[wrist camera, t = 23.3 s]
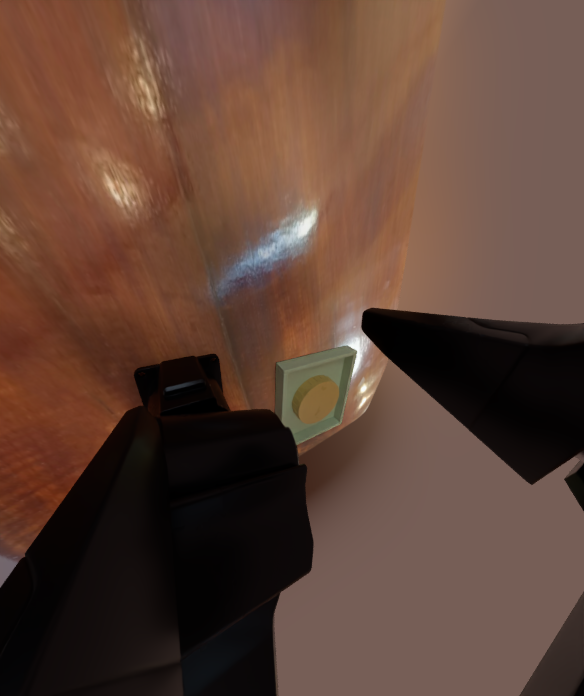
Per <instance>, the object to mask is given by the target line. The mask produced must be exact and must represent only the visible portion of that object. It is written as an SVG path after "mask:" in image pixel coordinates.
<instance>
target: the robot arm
mask: <svg viewBox="0 0 584 696" xmlns="http://www.w3.org/2000/svg"><path fill="white" fill-rule="evenodd" d="M361 327H362V330H363V332H364V333H365V334H366V335H367V336H368V337H369V339H370V340H371V341H372V342H373V343H374V344H375V345H376V346H377V347H378V348H379V349H380V350H381V352H382V353H383V354H384V355H385V356H387V357H388V358H389V359H390V360H391V361H392V362H393V363H394V364H396V365H397V366H398V367H399V368H400V369H401V370H402V371H404V372H405V373H406V374H407V375H408V376H409V377H410V378H411V379H412V380H413V381H415V382H416V383H417V384H418V385H419V386H420V387H421V388H422V389H424V390H425V391H426V392H427V393H428V394H429V395H430V396H431V397H433V398H434V399H435V400H436V401H437V402H438V403H439V404H441V405H442V406H443V407H444V408H445V409H446V410H447V411H448V412H450V414H452V415H453V416H454V417H455V418H456V419H457V420H458V421H459V422H461V423H462V424H463V425H464V426H465V427H466V428H467V429H469V431H470V432H472V433H473V434H474V435H475V436H476V437H477V438H478V439H479V440H480V441H482V442H483V443H484V444H485V445H486V446H487V447H489V448H490V449H491V450H492V451H493V452H494V453H495V454H496V455H497V456H498V457H500V458H501V459H502V460H503V461H504V462H505V463H506V464H508V465H509V466H510V467H511V468H512V469H513V470H514V471H515V472H517V473H518V474H519V475H520V476H521V477H522V478H523V479H525V480H526V481H527V482H528V483H530V484H531V485H533V484H534V483H536V482H537V481H539V480H540V479H542V478H543V477H544V476H546V475H547V474H549V473H550V472H552V471H553V470H555V469H556V468H558V467H559V466H561V465H562V464H564V463H565V462H567V461H568V460H570V459H571V458H573V457H576V458H578V459H579V460H580V461H579V462H578V463H577V465H576V466H575V467H574V468H573V469H572V470H571V472H570V473H569V474H568V475H567V476H566V478H565V479H564V480H565V481H566V483H567V485H568V486H569V488H570V490H571V491H572V493H573V495H574V496H575V498H576V500H577V501H578V503H579V504H580V506H581V507H582V509H583V511H584V323H581V324H546V323H529V322H514V321H500V320H489V319H478V318H466V317H458V316H448V315H439V314H438V315H437V314H429V313H419V312H409V311H399V310H390V309H380V308H370V309H367V310H365V311H364V312H363V315H362V326H361ZM212 358H215V360H214V361H211V359H212ZM139 373H145V375H143V376H140V375H139ZM134 378H135V381H136V384H137V387H138V390H139V393H140V396H141V399H142V402H143V405H144V406H138V407H135V408H133V409H131V410H128V411H127V412H126V413H125V414H124V416H123V417H122V418H121V420H120V421H119V423H118V424H117V425H116V427H115V428H114V430H113V431H112V432H111V434H110V435H109V437H108V438H107V439H106V441H105V442H104V444H103V445H102V446H101V448H100V449H99V451H98V452H97V453H96V455H95V456H94V458H93V459H92V460H91V462H90V463H89V465H88V466H87V467H86V469H85V470H84V472H83V473H82V474H81V476H80V477H79V479H78V480H77V481H76V483H75V484H74V486H73V487H72V488H71V490H70V491H69V493H68V494H67V495H66V497H65V498H64V500H63V501H62V502H61V504H60V505H59V507H58V508H57V509H56V511H55V512H54V514H53V515H52V516H51V518H50V519H49V521H48V522H47V523H46V525H45V526H44V528H43V529H42V530H41V532H40V533H39V535H38V536H37V537H36V539H35V540H34V542H33V543H32V544H31V546H30V547H29V549H28V550H27V551H26V553H25V557H23V558H22V559H21V560H20V561H19V562H18V564H17V565H16V567H15V568H14V569H13V571H12V572H11V574H10V575H9V576H8V578H7V579H6V581H5V582H4V583H3V585H2V586H1V587H0V696H278V683H277V666H276V665H277V664H276V648H275V632H274V613H275V609H276V605H277V602H278V599H279V595H280V593H281V591H283V590H285V589H286V588H288V587H289V586H290V585H292V584H293V583H295V582H296V581H298V580H299V579H301V578H302V577H303V576H305V575H306V574H308V573H309V572H310V571H311V568H312V557H313V537H312V533H311V527H310V522H309V518H308V512H307V506H306V492H305V483H306V474H307V467H306V465H305V464H301V465H299V459H298V458H299V457H298V450H297V446H296V442H295V439H294V436H293V433H292V431H291V429H290V428H289V427H285V426H284V425H283V423H282V422H281V420H280V419H279V417H278V416H277V415H276V414H275V413H274V412H272V411H271V410H268V409H252V410H239V411H231V410H230V408H229V406H228V404H227V402H226V400H225V397H224V395H223V389H222V381H221V372H220V363H219V358H218V356H217V355H216V354H208V355H203V356H198V357H195V356H189V357H184V358H179V359H173V360H168V361H163V362H161V363H160V364H156V365H151V366H146V367H141V368H138V369H136V370H135V372H134ZM520 696H584V592H583V594H582V595H581V597H580V599H579V600H578V602H577V604H576V605H575V607H574V608H573V610H572V611H571V613H570V615H569V616H568V618H567V620H566V621H565V623H564V624H563V626H562V628H561V629H560V631H559V633H558V634H557V636H556V637H555V639H554V641H553V642H552V644H551V646H550V647H549V649H548V650H547V652H546V654H545V655H544V657H543V658H542V660H541V662H540V663H539V665H538V666H537V668H536V670H535V671H534V673H533V675H532V676H531V678H530V679H529V681H528V683H527V684H526V686H525V688H524V689H523V691H522V692H521V694H520Z"/></svg>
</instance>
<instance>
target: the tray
mask: <svg viewBox="0 0 584 696" xmlns="http://www.w3.org/2000/svg"><path fill="white" fill-rule="evenodd" d="M356 354H357V351H356V350H354V349H352V348H351V347H349V346H343V347H339V348H334V349H330V350H326V351H322V352H318V353H314V354H310V355H306V356H302V357H298V358H294V359H289V360H285V361H281V362H277V363H276V388H275V414H276V415H277V416H278V417H279V419H280V420H281V422H282V423H283V425H284V426H285V427H289V428H290V429H291V431H292V433H293V436H294V439H295V442H296V445H298V444H300V443H302V442H304V441H306V440H308V439H310V438H312V437H314V436H317V435H319V434H321V433H323V432H325V431H327V430H329V429H331V428H333V427H336V426H338V425H340V424H342V419H343V414H344V410H345V405H346V400H347V396H348V391H349V386H350V382H351V377H352V372H353V368H354V363H355V358H356ZM317 375H324V376H328V377H329V378H330V379H331V380H333V381H334V382H335V383H336V384H337V386H338V388H339V398H338V401H337V403H336V405H335V407H334V408H333V409H332V411H331V412H330V413H329V414H328V415H327V416H326V417H325V418H323V419H322V420H320V421H318V422H316V423H313V424H306V423H303V422H302V421H301V420H299V418H298V417H297V416H296V415H295V413H294V412H293V409H292V400H293V397H294V395H295V393H296V391H297V389H298V388H299V387H300V386H301V385H302V384H303V383H304V382H305V381H306V380H308V379H309V378H311V377H314V376H317Z"/></svg>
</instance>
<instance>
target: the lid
mask: <svg viewBox="0 0 584 696" xmlns="http://www.w3.org/2000/svg"><path fill="white" fill-rule="evenodd" d="M338 398H339V388H338V386H337V384H336V383H335V382H334V381H333V380H331V379H330V378H329V377H328V376H324V375H317V376H314V377H311V378H309V379H308V380H306V381H305V382H304V383H303V384H302V385H301V386H300V387H299V388H298V389H297V391H296V393H295V395H294V397H293V400H292V409H293V412H294V413H295V415H296V416H297V417H298V418H299V420H301V421H302V422H303V423H306V424H313V423H316V422H318V421H320V420H322V419H323V418H325V417H326V416H327V415H328V414H329V413H330V412H331V411H332V409H333V408H334V407H335V405H336V403H337V401H338Z"/></svg>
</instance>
